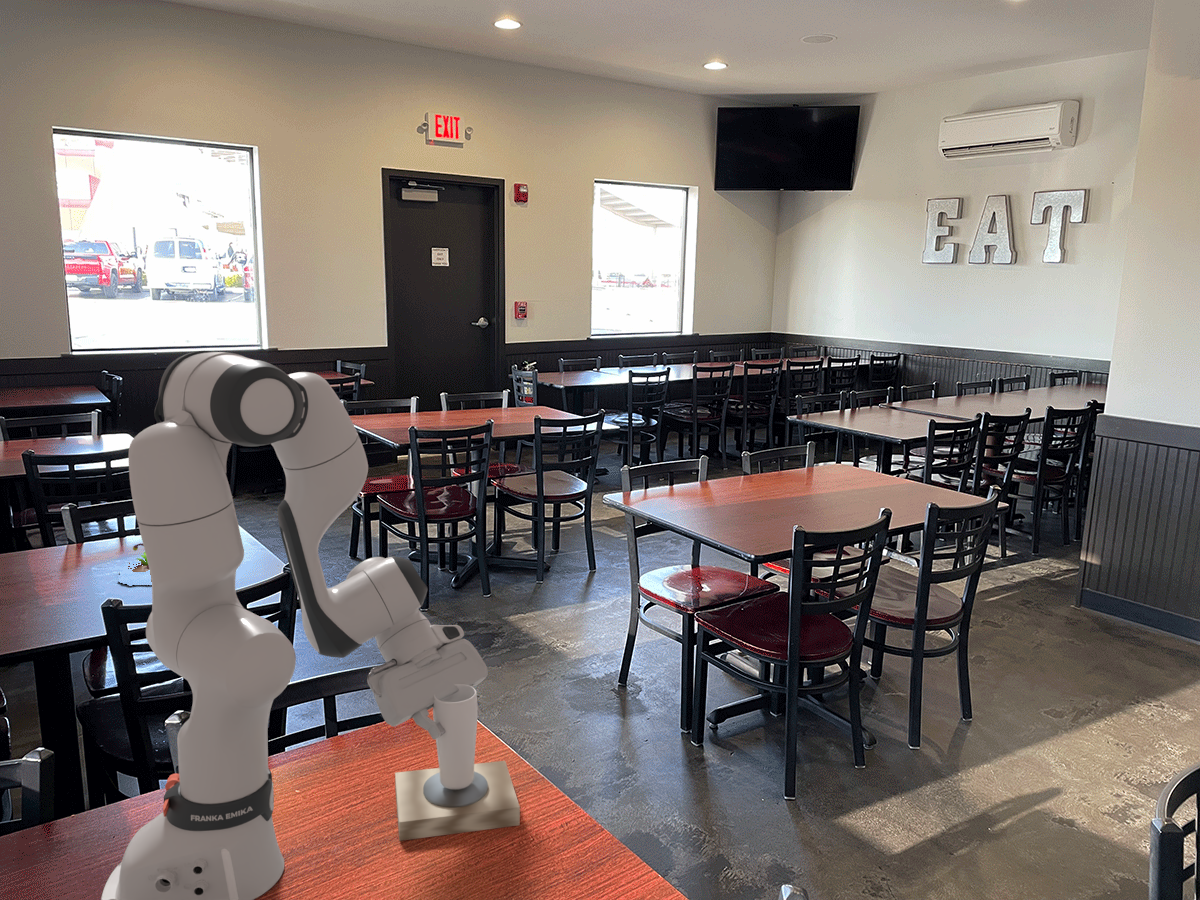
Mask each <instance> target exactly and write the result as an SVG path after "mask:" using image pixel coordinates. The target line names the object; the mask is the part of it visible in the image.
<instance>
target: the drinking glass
mask: <svg viewBox="0 0 1200 900" xmlns="http://www.w3.org/2000/svg"><path fill="white" fill-rule="evenodd" d="M454 685H455V686H457V687H458V689H459V691H458V692H456V693H454V694H452V695H450V696H448V697H446V698H444V699H442V700H439V699H437V698H436V697H435V695H434V704H433V708H432V716H433V719H432V720H433V721H434V722H435V723H439V722H440V724H441V725H442V726H443V728H444V729H445V733H444V734H443V735H442V736H440V737H439V738H437V739H435V745H436V750H437V751H436V752H437V759H438V760H437V761H438V768H439V772H440V783H441V784H442V786H444V787H445V788H447V789H452V790H458V789H463V788H466V787H468V786H469V785H470V784H471V783H472V782H473V780H474V764H475V759H476V758H475V756H476V744H477V731H478V730H477V727H478V716H477V713H478V712H477V705H478V695H477V690H476V689H475V687H474V688H473V687H471V686H469V685H465V684H454Z"/></svg>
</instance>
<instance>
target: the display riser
mask: <svg viewBox="0 0 1200 900" xmlns="http://www.w3.org/2000/svg"><path fill="white" fill-rule="evenodd" d="M509 771H510V770H509V768H508V765H507V761H506V760H499V761H489V762H480V763H474V780H473V782H472V783H471V784H470V785H469V786H468V787H466V788H463V789H458V790H452V789H447V788H445V787H444V786H442V784H441V783H440V772H439V767H435V768H427V769H417V770H407V771H399V772H398V771H397V772H394V775H395V776H394V777H395V779H394V784H395V785H394V787H395V788H394V789H395V802H396V814H397V825H398V827H397V828H398V841H399V842H400V841H407V840H408V841H409V840H417V839H423V838H429V837H430V838H431V837H438V836H439V837H440V836H445V835H446V836H447V835H454V834H455V835H456V834H461V833H471V832H478V831H485V830H493V829H501V828H508V827H516V826H521V824H520V823H521V822H520V821H521V806H520V804H519V803H520V802H519V799H518V797H517V794H516V791H515V787H514V784H513V781H512V778H511V775H510V772H509Z"/></svg>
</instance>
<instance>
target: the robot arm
mask: <svg viewBox="0 0 1200 900" xmlns="http://www.w3.org/2000/svg"><path fill="white" fill-rule="evenodd" d="M159 383H160V384H159V387H158V399H157V402H156V405H155V408H154V413H153V414H154V419H155V420H156V424H153V425H150V426H148V427H146V428H144V429H143V430H142V431H140V432H139V433H138V434H137V435H135V436H134V437H133V439H132V440H131V442H130V445H129V448H128V475H129V485H130V492H131V497H132V504H133V509H134V512H135V518H136V522H137V525H138V530H139V533H140V534H139V535H140V537H141V541H142V543H143V545H144V546H143V548H144V552H145V553H146V557H147V561H148V565H149V569H150V575H151V582H152V586H151V597H152V598H151V602H152V603H151V604H152V605H151V606H152V607H151V612H150V614H149V615H148V619H147V621H146V625H145V637H146V641H147V643H148V645H149V647H150V649H151V650H152V651H153V653H154V655H155V657H157V659H158V660H159V662H160V663H161V664H162V665H163V666H165V667H166V668H167V669H169V670H170V671H172V672H174V673H175V674H177V675H178V676H180V677H182V678H183V679H185V680H186V681H187V682H188V685H189V687H190V689H191V692H192V706H191V710H190V715H189V718H188V719H186V721H185V722H184V723H183V724H182V725H181V727H180V728H179V730H178V733H177V738H176V742H177V746H176V747H177V762H178V763H177V764H178V773H176V772H175V773H172V774H170V775H168V776H169V777H168V778H167V780H166V783H165V786H164V789H165V793H164V794H163V795H164V796H163V805H162V812H161V813H159V815H157V816H155V818H152V819H151V820H150V821H149V822H147V823H146V824H144V825H143V826H142V827H140V829H139V830H138V831H136V832H135V834H134V835H133V837H132V838H131V839H130V841H129V843H128V845H127V847H126V849H125V851H124V854H123V856H122V860H121V862H120V863H119V864H117V865H116V867H115V868H114V870H113V871H112V872H111V874H109V877H108V878H107V880H106V881H105V882H106V883H105V885H104V887H103V890H102V894H101V897H100V900H255V899H257V898H259V897H261V896H262V895H263V894H266V892H268V891H269V890H270V889H271V888H272V887H274V886H275V885H276V883H277V882H278V881H279V880H280V878H282V877H281V876H282V875H283V873H284V870H285V858H284V857H283V855H282V853H281V849H280V847H279V844H278V841H277V836H276V830H275V827H274V821H273V813H274V809H275V804H274V803H275V802H274V801H275V797H274V796H275V794H274V791H275V790H274V782H273V775H272V771H271V769H270V768H269V749H268V748H269V747H268V746H269V745H268V731H269V730H268V728H269V727H268V726H269V718H270V713H271V708H272V706H273V703H274V700H275V699H276V698H277V697H278V696H280V695H281V694H282V693H283V692H284V690H286V688H287V686H288V685H289V684H290V682H291V680H292V678H293V675H294V674H295V669H296V661H297V658H296V657H297V656H296V651H295V648H294V646H293V644H292V642H291V641H290V640H289V639H288V638H287V636H286V635H285V634H284V633H283V632H282V631H281V630H280V629H279V628H278V626H277V625H275V624H274V623H272V622H271V621H270V620H268V619H266V618H264V617H262V616H259V615H257V614H256V613H253V612H252V611H250V610H247V609H246V608H245V607H244V606H243V605H242V604H241V602H240V600H239V598H238V595H237V592H236V580H237V579H236V575H237V569H239V567H241V564H242V563H243V561H244V556H245V549H244V545H243V541H242V535H241V531H240V526H239V522H238V518H237V513H236V507H235V503H234V499H233V495H232V491H231V487H230V484H229V481H228V477H227V461H228V455H229V452H230V449H231V447H232V445H233V444H236V445H238V446H242V447H260V446H261V447H262V446H267V445H271V446H272V447H273V449H274V451H275V454H276V457H277V459H278V460H279V462H280V465H281V467H282V468H283V472H284V475H285V494H284V498H283V499H282V500H281V502H280V503H279V505H278V506H277V521H278V526H279V531H280V536H281V539H282V543H283V547H284V551H285V554H286V559H287V562H288V565H289V570H290V572H291V573H290V574H291V576H292V579H293V583H294V586H295V591H296V594H297V597H298V603H299V607H300V613H301V618H302V619H301V620H302V628H303V630H304V634H305V637H306V639H307V640H308V643H310V645H311V646H312V648H313V649H314V650H315V651H316V652H317V653H318V655H321V656H325V657H329V658H338V659H344V658H346V657H347V656H349V655H350V654H351V653H353V652H355V651H356V650H357V649H359V648H361V647H362V646H363V644H364V643H366V642H368V641H371V640H372V639H373V638H375V641H376V645H377V648H378V650H379V652H380V654H381V655H382V657H383V659H384V661H385V662H384V663H382V664H380V665H379V666H378V665H377V666H373V667H372V668H371V669H369V671H370V672H369V673H368V674H367V678H366V679H367V680H366V681H367V684H368V687H369V688H370V691H371V692H372V693H373V696H374V699H375V703H376V704H377V707H378V710H379V711H380V714H381V715H382V718H383V720H384V721H385V723H386V724H387V725H388V726H391V727H394V728H395V727H396V726H397V727H398V726H399V725H401V724H403V723H405V722H407V721H409V720H411V719H413V722H415V725H417V726H419V727H420V728H421V729H424V730H425V731H427V732H428V734H429V735H430V738H432V740H435V741H436V739H437V738H439V737H440V736H442V735H443V734H444V733H445V729H444V728H443V726H442V725H441V724H440V722H439V723H435V722H434V719H432V718H430V717H429V715H430V712H429V710H431V709H433V704H434V695H435V697H436V698H437V699H439V700H442V699H444V698H446V697H448V696H450V695H452V694H454V693H456V692H458V691H459V689H458V687H457V686H455V685H454V684H465V685H469V686H471V687H473V688H474V689H475V687H476V686H478V685H479V684H480V683H482V682H483V681H484V680H485V679H486V678H487V677H488V674H489V673H488V667H487V665H486V663H485V661H484V659H483V658H482V656H481V655H480V653H479V652H478V650H477V649H476V647H475V646H474V645H473V644H472V643H471V642H470V641H469V640H468V639H465V638H463V637H464V636H465V631H464V630H463V628H462V627H461V626H460V625H457V624H453V625H452V624H450V625H448V624H445V625H442V624H441V625H440V624H431V623H430V621H429V619H428V618H427V616H425V615H424V614H423V612H421V611H420V608H422V607H423V605H424V601H425V600H426V597H427V593H428V586H427V585H426V583H425V581H423V579H422V577H421V576H420V575H419V573H418V572H417V570H416V569H415V566H414V565H413V562H412V561H411V560H410V559H407V558H404V557H401V556H395V555H392V556H389V557H386V558H385V557H383V556H374V557H370V558H367V559H365V560H362V561H361V562H359V563H358V564H356V566H354V567H353V568H352V569H351V570H350V571H349V573H348V574H347V576H346V579H345V580H344V581H342V582H339V583H337V584H336V585H334V586H332V587H328V586H327V583H326V578H325V574H324V569H323V568H322V563H321V559H320V554H319V546H320V543H321V540H322V538H323V537H324V535H325V533H326V532H327V531H328V529H329V528H330V527H331V526H332V524H334V522H335V521H336V520H337V519H338V518H339V517H340V516H341V514H343V513H344V512H345V511H346V510H347V509H348V508H349V507H350V506H351V505H352V504H353V502H355V500H356V499H357V498H358V496H359V494H361V492H362V490H363V487H364V486H365V483H366V481H367V477H368V472H369V464H368V458H367V455H366V451H365V448H364V446H363V443H362V440H361V438H360V435H359V433H358V431H357V429H356V427H355V425H354V423H353V421H352V419H351V417H350V415H349V414H348V413H349V412H348V411H347V410H346V409H347V408H345V405H344V404H343V403H342V401H341V400H340V398H339V396H338V395H337V393H336V392H335V390H334V389H333V388H332V387H331V385H330V383H329V382H328V381H327V380H326V379H325V378H324V377H322V376H321V375H320V374H317V373H314V372H309V371H298V372H293V373H289V374H288V373H286V372H285V371H283V370H282V369H280V368H279V367H277V366H276V365H274V364H271V363H269V362H267V361H263V360H261V359H260V360H259V359H252V358H249V357H246V356H244V355H241V354H238V353H234V352H224V351H223V352H222V351H219V352H218V351H212V350H211V351H210V350H198V351H192V352H189V353H185V354H183V355H181V356H178V357H177V358H176V359H174V360H173V361H172V362H171V363H170V364H168V365H167V367H166V368H165V370H164V372H163V374H162V377H161V380H160V382H159ZM159 416H160V417H161V419H160V417H159ZM477 712H478V713H477V717H478V716H480V715H481V714H482V711H481V708H480V707H479V705H478V704H477Z"/></svg>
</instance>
